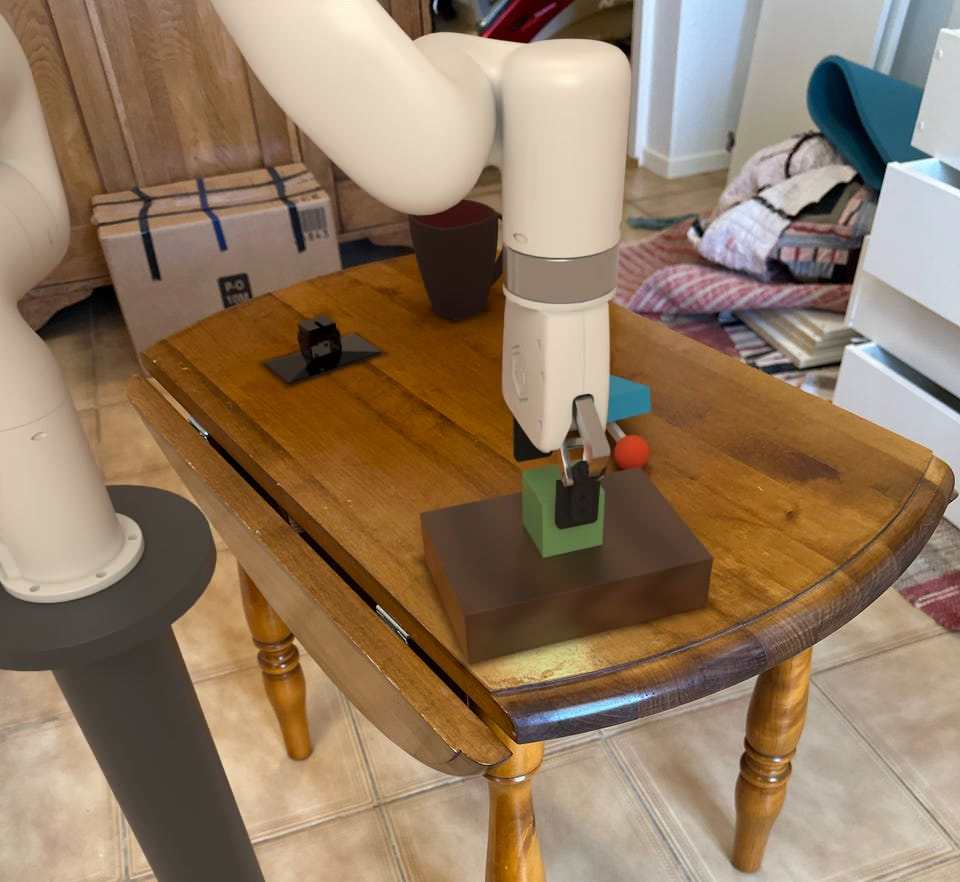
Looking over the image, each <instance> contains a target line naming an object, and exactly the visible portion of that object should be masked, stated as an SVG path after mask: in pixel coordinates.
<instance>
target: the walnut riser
mask: <svg viewBox="0 0 960 882" xmlns="http://www.w3.org/2000/svg"><path fill="white" fill-rule="evenodd" d="M600 486H601V487H602V488H603V490H604V491H605V499H604V520H603V541H602V545H599V546H594V547H590V548H585V549H581V550H576V551H572V552H568V553H563V554H559V555H554V556H550V557H545V558H543V557H542V555H541V554H540V552H539V550H538V548H537V547H536V545H535V543H534V541H533V540H532V538H531V536H530V535H529V533H528V531H527V529H526V528H525V526H524V524H523V506H522V491H518V492H514V493H509V494H504V495H500V496H499V495H498V496H494V497H489V498H485V499H480V500H475V501H470V502H467V503H461V504H456V505H451V506H446V507H442V508H437V509H433V510H432V509H431V510H427V511H423V512H420V513H419V521H420V528H421V529H420V530H421V537H422V539H421V540H422V546H423V555H424V562H425V565H426V566H427V568H428V571H429V573H430V576H431V578H432V580H433V583H434V585H435V588H436V590H437V592H438V594H439V595H438V596H439V597H440V599H441V602H442V604H443V606H444V609H445V611H446V613H447V617H448V618H449V621H450V623H451V626H452V628H453V630H454V633H455V635H456V637H457V640H458V643H459V645H460V647H461V649H462V651H463V654H464V657H465V659H466V661H467V664H468V665H470V664H475V663H480V662H483V661H488V660H492V659H496V658H500V657H505V656H509V655H512V654H513V655H514V654H517V653H521V652H525V651H530V650H533V649H537V648H541V647H546V646H549V645H553V644H558V643H562V642H563V643H564V642H566V641H571V640H575V639H580V638H583V637H587V636H591V635H596V634H599V633H603V632H607V631H611V630H612V631H613V630H616V629H620V628H624V627H628V626H633V625H637V624H641V623H645V622H649V621H654V620H657V619H661V618H666V617H669V616H674V615H678V614H683V613H686V612H690V611H695V610H698V609H703V608H707V604H708V596H709V589H710V583H711V578H712V577H711V576H712V572H713V564H714V556H713V555H712V554H711V552H710V551H709V550H708V549H707V547H706V546H704V544H703V543H702V542H701V540H700V539H699V538H698V537H697V535H696V534H695V533H694V532H693V531H692V529H691V528H690V527H689V526H688V524H687V523H686V522H685V521H684V519H683V518H682V517H681V516H680V514H679V512H677V511H676V510H675V508H674V507H673V506H672V505H671V504H670V502H669V501H668V500H667V498H666V497H665V496H664V495H663V494H662V493H661V491H660V490H659V489H658V488H657V487H656V485H655V484H654V482H653V481H652V480H651V479H650V478H649V476H648V475H647V474H646V473H645V471H644V470H643V469H642V468H640V467H637V468H632V469H627V470H624V469H622V470H619V471H618V470H617V471H614V472H609V473H605V474H604V475H603V480H602V481H600Z"/></svg>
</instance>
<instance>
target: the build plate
mask: <svg viewBox="0 0 960 882" xmlns="http://www.w3.org/2000/svg"><path fill="white" fill-rule="evenodd" d="M297 328H298V331H296V336H297V337H296V340H297V342H298V346H299V350H296V351H293V352H290V353H287V354H284V355H281V356H278V357H275V358H272V359H267V360H266V361H264V362H263V365H264V366H265V367H266V368H267V369H269V370H270V371H271V372H272V373H273V374H275V376H276V377H278V378H280V379H281V380H282V381H283V382H284V383H286V384H287V385H288V386H292V385H295V384H298V383H301V382H303V381H307V380H311V379H313V378H315V377H318V376H322V375H325V374H329V373H330V372H334V371H336V370H339V369H342V368H345V367H348V366H351V365H354V364H358V363H360V362H362V361H365V360H369V359H372V358H374V357H377V356H380V355H382V352H381V349H378V348H377V347H375V346H374V345H372V344H371V343H369V342H368V341H367V340H365V339H363V338H362V337H361V336H359V335H357V334H356V333H355V332H352V333H348V334H346V335H341V332H340V329H339V328H338V327H337V323H336V321H334V320H332V319H331V318H330V317H328V316H327V315H325V314H323V315H319V316H317V317H313V318H310V319H307V320H303V321H300V322H298V323H297Z"/></svg>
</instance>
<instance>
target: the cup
mask: <svg viewBox="0 0 960 882" xmlns="http://www.w3.org/2000/svg"><path fill="white" fill-rule="evenodd" d="M407 217H408V218H407V219H408V226H409V233H410V239H411V244H412V248H413V252H414V255H415V260H416V264H417V267H418V270H419V273H420V277H421V280H422V283H423V286H424V289H425V291H426V295H427V296H428V299H429V302H430V304H431V307H432V309H433V311H434V312H435V313H436V314H437V315H439V316H441V317H443V318H445V319H448V320H452V321H461V320H465V319H469V318H472V317H475V316H477V315H479V314H481V313H482V312H484V311H485V309H486V307H487V304H488V301H489V296H490V293H491V288H492V287H493V286H494V285H495V284H496V283H497V282H498V280H499V279H500V278H501V277H502V276H503V245H502V246H501V250H500V253H499V255H498V257H497V253H498V243H499V220H500V221H501V222H502V212H498V211H496V210H495V209H494V208H493V207H491V206H490V205H488V204H485V203H483V202H479V201H475V200H470V199H465V198H463V199H462V200H461V201H460V202H459V203H457V204H456V205H454V206H453V207H451V208H449V209H447V210H445V211H443V212H439V213H436V214H432V215H413V214H408V215H407ZM496 258H497V259H496Z"/></svg>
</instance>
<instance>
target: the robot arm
mask: <svg viewBox="0 0 960 882" xmlns="http://www.w3.org/2000/svg"><path fill="white" fill-rule="evenodd" d="M209 1H210V3H211V5H212V7H213V8H214V10H215V12H216V14H217V16H218V17H219V19H220V21H221V22H222V24H223V25H224V27H225V28H226V30H227V32H228V33H229V35H230V36H231V38H232V39H233V41H234V43H235V45H236V46H237V48H238V50H239V51H240V53H241V54H242V56H243V59H245V61H246V63H247V64H248V66H249V67H250V69H251V70H252V72H253V73H254V75H255V76H256V78H257V80H259V82H260V83H261V85H262V86H263V87H264V89H265V90H266V91H267V93H268V94H269V95H270V96H271V98H272V99H273V100H274V101H275V103H276V104H277V105H278V106H279V107H280V109H281V110H282V111H283V112H284V113H285V114H286V115H287V117H288V118H289V119H290V120H291V121H292V122H293V123H294V124H295V125H296V127H298V128H299V129H300V130H301V131H302V133H304V134H305V135H306V136H307V137H308V138H309V139H310V140H311V141H312V142H313V144H315V145H316V147H318V148H319V149H320V150H321V151H322V152H323V153H324V154H325V155H326V156H327V157H328V158H329V159H330V160H331V161H332V162H333V163H334V164H335V165H336V166H337V167H338V168H339V169H340V170H341V171H342V172H343V174H345V175H346V176H347V177H348V178H349V179H350V180H352V181H353V182H354V183H355V184H356V186H358V187H359V188H360V189H362V190H363V191H364V192H365V193H367V194H368V195H369V196H371V197H372V198H374V199H375V200H377V201H379V202H380V203H382V204H383V205H384V206H387V207H388V208H390V209H393V210H395V211H398V212H400V213H403V214H413V215H432V214H436V213H439V212H443V211H445V210H447V209H449V208H451V207H453V206H454V205H456V204H457V203H459V202H460V201H461V200H462V199H465V198H466V197H467V196H468V195H469V193H470V192H471V191H472V190H473V188H474V187H475V185H476V183H477V182H478V180H479V177H480V176H481V175H482V172H483V170H484V169H485V168H487V167H489V166H494V167H496V168H497V169H498V170H499V172H500V174H501V214H502V221H501V230H502V231H501V232H502V233H501V235H502V236H501V237H502V246H503V274H502V292H503V295H504V296H505V301H504V317H503V337H502V338H503V339H502V363H501V365H502V367H501V392H502V396H503V400H504V402H505V404H506V405H507V407H508V409H509V411H510V412H511V414H512V448H513V449H512V454H513V455H512V456H513V459H514V460H515V461H516V462H518V463H523V462H527V461H532V460H533V461H534V460H539V459H544V458H549V457H551V456H553V453H554V452H553V451H555V455H556V460H557V464H558V465H559V470H560V475H561V479H560V480H556V496H555V525H556V526H557V528H558V529H566V528H571V527H576V526H581V525H586V524H591V523H594V522H596V521H597V519H598V509H599V495H600V481H602V480H603V475H604V474H606V471H607V469H608V468H607V465H608V461H609V460H610V457H611V447H610V444H609V441H608V439H607V438H608V437H607V436H606V431H607V429H606V424H607V415H608V403H609V380H610V375H611V348H610V347H611V336H610V335H611V333H610V332H611V331H610V306H609V301H611V300H612V299H613V298H614V297H615V296H616V293H617V291H618V279H619V278H618V277H619V265H620V264H619V262H620V250H621V249H620V248H621V234H622V221H623V208H624V205H623V204H624V193H625V181H626V180H625V177H626V165H627V152H628V151H627V150H628V138H629V124H630V110H631V97H632V96H631V95H632V68H631V64H630V61H629V60H628V59H629V58H628V57H627V55H626V54H625V53H624V52H623V50H621V48H620V47H618V46H616V45H613V44H612V43H608V42H605V41H601V40H595V39H586V38H554V39H546V40H539V41H538V40H537V41H534V42H529V43H523V42H515V41H508V40H502V39H501V40H500V39H494V38H488V37H483V36H477V35H472V34H467V33H461V32H460V33H459V32H451V31H448V32H447V31H446V32H445V31H440V32H433V33H429V34H424V35H423V36H420V37H417V38H416V39H414V40H412V39H411V38H410V37H409V35H408V34H407V33H406V32H405V31H404V30H403V29H402V28H401V27H400V25H398V23H397V22H396V21H395V20H394V19H393V17H391V15H390V14H389V12H387V11H386V10H385V8H384V7H383V6H382V4H381V3H379V1H378V0H209ZM37 89H38V88H37V86H36V83H35V79H34V77H33V73H32V69H31V66H30V64H29V61H28V58H27V56H26V54H25V52H24V49H23V47H22V45H21V44H20V41H19V40H18V38H17V36H16V35H15V33H14V31H13V30H12V27H11V26H10V25H9V23H8V22H7V20H6V19H5V18H4V16H3V15H2V14H1V13H0V582H1V584H2V586H3V587H4V588H5V590H6V591H7V592H8V593H10V594H11V595H13V596H14V597H16V598H19V599H22V600H24V601H30V602H36V603H57V602H66V601H70V600H75V599H79V598H83V597H86V596H89V595H92V594H94V593H97V592H99V591H101V590H103V589H106V588H107V587H109V586H111V585H113V584H114V583H116V582H118V581H119V580H120V579H122V578H123V577H124V576H126V575H127V574H128V573H129V572H130V571H131V570H132V569H133V568H134V567H135V566H136V565H137V563H138V562H139V560H140V559H141V557H142V554H143V552H144V547H145V541H144V538H143V535H142V531H141V529H140V528H139V526H138V524H137V523H136V522H134V521H133V520H132V519H130V518H129V517H127V516H125V515H122V514H118V513H115V510H114V508H113V505H112V502H111V500H110V497H109V495H108V492H107V489H106V487H105V485H106V484H105V482H104V479H103V476H102V474H101V471H100V468H99V466H98V463H97V460H96V458H95V456H94V452H93V450H92V448H91V445H90V443H89V439H88V437H87V435H86V432H85V429H84V426H83V424H82V421H81V418H80V416H79V413H78V411H77V408H76V405H75V403H74V400H73V397H72V394H71V393H70V390H69V387H68V385H67V382H66V380H65V378H64V375H63V372H62V370H61V367H60V365H59V362H58V361H57V359H56V357H55V355H54V353H53V352H52V351H51V349H50V348H49V346H48V344H47V343H46V342H45V341H44V340H43V339H42V338H41V337H40V335H39V334H38V333H36V331H34V330H33V328H32V327H31V326H30V325H29V324H28V323H27V321H26V320H25V319H24V318H23V316H22V314H21V313H20V310H19V308H18V302H19V301H20V300H21V299H22V298H23V297H24V296H25V295H26V294H27V293H28V292H29V291H31V290H32V289H33V288H34V287H35V286H36V285H38V284H39V283H41V282H42V281H43V280H44V279H45V278H47V276H48V275H50V274H51V273H52V272H53V271H54V270H55V269H56V268H57V267H58V266H59V264H60V263H61V262H62V261H63V259H64V257H65V255H66V254H67V251H68V248H69V245H70V241H71V219H70V212H69V206H68V202H67V198H66V194H65V189H64V186H63V181H62V179H61V174H60V171H59V167H58V164H57V159H56V156H55V153H54V148H53V144H52V141H51V137H50V134H49V130H48V126H47V123H46V119H45V116H44V115H45V114H44V111H43V107H42V104H41V100H40V97H39V93H38V90H37ZM572 431H578V434H579V436H578V437H571V438H566V437H567V435H568V433H569V432H572ZM580 448H583V455H582V458H583V459H582V461H578V462H577V463H576V464H575V465H574V466H573V467H571V462H570V461H571V458H570V453H569V451H570V450H575V449H580Z"/></svg>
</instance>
